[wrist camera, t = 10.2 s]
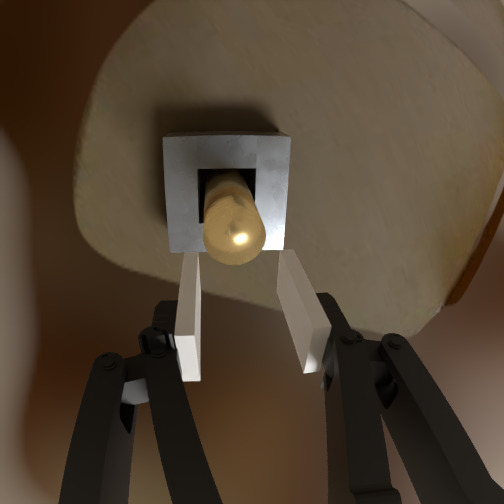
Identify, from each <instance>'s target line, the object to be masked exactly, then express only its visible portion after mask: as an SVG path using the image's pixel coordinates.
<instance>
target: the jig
mask: <svg viewBox="0 0 504 504" xmlns="http://www.w3.org/2000/svg"><path fill="white" fill-rule="evenodd" d="M290 144H291V137H290V136H288V135H286V134H284V133H282V132H269V131H195V132H173V133H168V134H167V135H165V136H164V137H163V160H164V181H165V197H166V211H167V224H168V235H169V246H170V253H180V252H207V250H206V248H205V246H204V242H203V225H204V208H200V181H199V169H219V168H250V193H251V195H252V197H253V200H254V202H255V204H256V207H257V209H258V212H259V214H260V216H261V219H262V221H263V224H264V226H265V230H266V240H265V244H264V246H263V248H262V250H279V249H283V242H284V230H285V217H286V204H287V190H288V175H289V160H290Z"/></svg>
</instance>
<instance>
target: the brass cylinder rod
mask: <svg viewBox="0 0 504 504" xmlns="http://www.w3.org/2000/svg"><path fill="white" fill-rule="evenodd" d="M265 240H266V230H265V226H264V224H263V221H262V219H261V216H260V214H259V212H258V209H257V207H256V204H255V202H254V200H253V197H252V195H251V193H250V190H249V188H248V185H247V183H246V181H245V178H244V176H243V174H242V173H241V172H240V170H238V169H237V168H219V169H213V170H212V171H211V172H210V173H209V175H208V176H207V179H206V186H205V204H204V225H203V242H204V246H205V248H206V250H207V252H208V253H209V254H210V256H212V257H213V258H214V259H215V260H217V261H219V262H221V263H224V264H229V265H238V264H243V263H246V262H248V261H250V260H252V259H253V258H255V257H256V256H257V255H258V254H259V253H260V251H261V250H262V248H263V246H264V244H265Z"/></svg>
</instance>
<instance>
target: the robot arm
mask: <svg viewBox="0 0 504 504" xmlns="http://www.w3.org/2000/svg"><path fill="white" fill-rule="evenodd" d="M277 293H278V296H279V299H280V302H281V305H282V308H283V311H284V314H285V317H286V320H287V323H288V326H289V329H290V332H291V335H292V339H293V341H294V345H295V348H296V351H297V354H298V357H299V360H300V363H301V366H302V369H303V372H304V373H309V372H317V371H320V369H321V365H322V363H323V366H324V368H325V372H324V376H323V379H322V382H321V387H320V388H323V385H324V395H325V413H326V434H327V462H328V463H327V464H328V504H402V502H401V496H400V493H399V492H398V490H397V489H395V488H393V487H392V485H391V479H390V472H389V464H388V457H387V451H386V444H385V438H384V432H383V426H382V420H381V416H382V418H383V420H384V422H385V424H386V426H387V429H388V431H389V433H390V435H391V437H392V439H393V441H394V443H395V446H396V448H397V450H398V452H399V455H400V457H401V459H402V461H403V463H404V466H405V468H406V470H407V472H408V475H409V477H410V479H411V482H412V484H413V486H414V488H415V491H416V493H417V495H418V498H419V500H420V502H421V504H504V489H502V488H501V487H500V486H499V485H498V484H497V483H496V482H495V481H494V480H493V479H492V478H491V476H490V475H489V473H488V471H487V469H486V467H485V465H484V463H483V461H482V460H481V458H480V456H479V454H478V452H477V451H476V449H475V447H474V445H473V443H472V442H471V440H470V438H469V436H468V435H467V433H466V431H465V430H464V428H463V427H462V424H461V423H460V421H459V420H458V418H457V416H456V414H455V413H454V411H453V410H452V408H451V406H450V405H449V403H448V402H447V400H446V398H445V397H444V395H443V393H442V392H441V390H440V389H439V387H438V386H437V384H436V383H435V381H434V380H433V378H432V376H431V375H430V373H429V372H428V370H427V369H426V367H425V366H424V364H423V363H422V361H421V360H420V358H419V357H418V355H417V354H416V352H415V351H414V350H413V348H412V347H411V345H410V344H409V342H408V341H407V340H406V339H405V338H404V337H403V336H401V335H399V334H395V333H389V334H386V335H384V336H383V337H382V340H381V341H373V340H366V339H364V338H363V336H362V335H361V334H360V333H359V332H358V331H355V330H353V329H351V328H350V326H349V324H348V322H347V320H346V318H345V317H344V315H343V313H342V311H341V309H340V308H339V306H338V304H337V302H336V301H335V299H334V298H333V297H332V296H331V295H330V294H328V293H327V292H326V293H315V292H314V290H313V288H312V286H311V284H310V282H309V280H308V278H307V276H306V274H305V272H304V270H303V268H302V266H301V264H300V262H299V260H298V258H297V256H296V254H295V252H294V250H280V257H279V269H278V280H277ZM200 306H201V289H200V274H199V258H198V252H197V253H184V259H183V267H182V274H181V282H180V290H179V299H178V300H173V301H172V300H170V301H160V302H159V304H158V305H157V306H156V307H155V311H154V316H153V322H152V326H150V327H147V328H145V329H143V330H142V331H141V332H140V334H139V336H138V341H139V345H140V348H141V352H142V353H140V354H138V355H136V356H132V357H128V358H124V359H123V358H122V356H121V355H119V354H118V353H114V352H107V353H104V354H101V355H99V356H98V357H97V358H96V359H95V361H94V363H93V366H92V369H91V372H90V375H89V379H88V381H87V385H86V388H85V391H84V395H83V398H82V401H81V405H80V409H79V412H78V416H77V420H76V423H75V427H74V431H73V435H72V439H71V444H70V448H69V452H68V456H67V461H66V466H65V471H64V476H63V481H62V487H61V492H60V498H59V504H128V497H129V483H130V472H131V462H132V453H133V444H134V436H135V428H136V421H137V413H138V407H139V403H144V402H148V401H149V403H150V409H151V414H152V420H153V425H154V430H155V435H156V440H157V444H158V449H159V453H160V457H161V462H162V466H163V470H164V474H165V478H166V481H167V485H168V489H169V492H170V496H171V500H172V503H173V504H223V503H222V501H221V498H220V495H219V493H218V490H217V487H216V485H215V482H214V479H213V477H212V474H211V471H210V468H209V465H208V462H207V460H206V457H205V454H204V451H203V448H202V444H201V441H200V438H199V435H198V432H197V429H196V426H195V422H194V419H193V416H192V412H191V409H190V405H189V402H188V399H187V395H186V392H185V388H184V384H183V381H200V310H201V307H200ZM380 414H381V416H380Z"/></svg>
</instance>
